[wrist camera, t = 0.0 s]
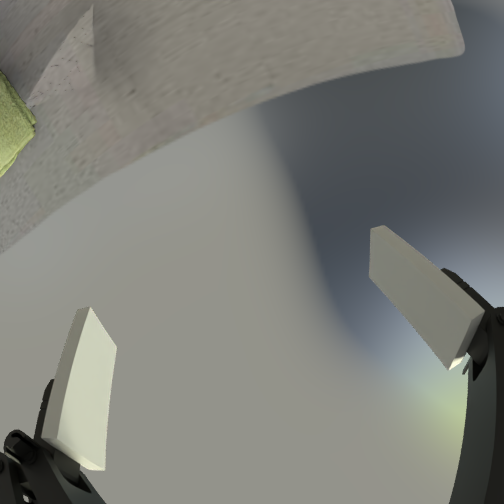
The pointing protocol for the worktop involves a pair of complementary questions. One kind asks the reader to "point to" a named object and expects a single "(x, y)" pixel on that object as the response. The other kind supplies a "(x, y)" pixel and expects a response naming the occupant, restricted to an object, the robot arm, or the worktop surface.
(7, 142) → the washcloth
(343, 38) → the worktop surface
